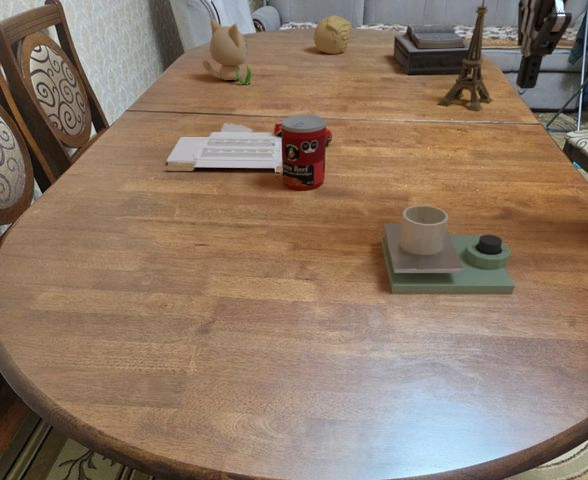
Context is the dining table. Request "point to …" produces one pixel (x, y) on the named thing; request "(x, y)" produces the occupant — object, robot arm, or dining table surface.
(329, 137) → the race car
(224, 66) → the kitten
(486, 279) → the scale
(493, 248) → the tare button
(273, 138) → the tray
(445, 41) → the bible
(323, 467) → the dining table surface
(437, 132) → the dining table surface
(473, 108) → the eiffel tower
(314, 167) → the canned food
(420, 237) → the cup
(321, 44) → the sculpture
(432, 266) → the platform
